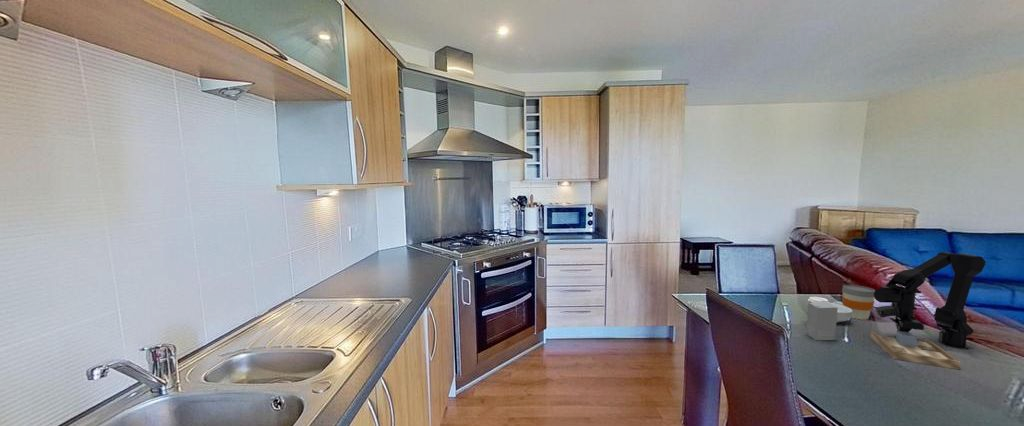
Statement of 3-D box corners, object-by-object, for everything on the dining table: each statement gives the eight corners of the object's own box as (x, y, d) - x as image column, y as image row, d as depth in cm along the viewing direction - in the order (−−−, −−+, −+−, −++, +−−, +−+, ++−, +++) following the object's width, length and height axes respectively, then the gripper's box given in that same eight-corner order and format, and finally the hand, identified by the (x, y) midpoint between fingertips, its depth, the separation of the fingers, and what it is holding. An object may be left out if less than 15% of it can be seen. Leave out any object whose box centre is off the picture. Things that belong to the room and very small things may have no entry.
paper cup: (831, 330, 168) (833, 301, 167) (815, 330, 168) (817, 301, 167) (817, 323, 176) (819, 296, 175) (802, 323, 176) (803, 296, 175)
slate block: (910, 342, 151) (911, 332, 150) (916, 347, 147) (917, 336, 147) (895, 340, 153) (896, 330, 153) (900, 344, 149) (901, 334, 149)
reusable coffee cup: (869, 314, 187) (871, 286, 185) (877, 322, 176) (879, 293, 175) (837, 310, 193) (839, 283, 192) (843, 317, 183) (845, 289, 181)
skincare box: (824, 334, 163) (826, 301, 162) (836, 341, 156) (839, 307, 155) (804, 334, 164) (806, 301, 163) (816, 341, 157) (818, 306, 156)
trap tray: (927, 345, 151) (928, 339, 151) (959, 369, 133) (960, 361, 132) (870, 337, 160) (871, 331, 160) (893, 358, 141) (893, 351, 141)
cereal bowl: (860, 327, 171) (861, 313, 170) (820, 325, 174) (821, 311, 174) (836, 314, 187) (837, 301, 187) (800, 312, 191) (801, 299, 190)
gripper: (870, 293, 164) (867, 325, 166) (888, 306, 148) (884, 342, 149) (904, 297, 159) (900, 330, 160) (926, 310, 142) (922, 347, 144)
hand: (901, 337), depth 154 cm, fingers closed
